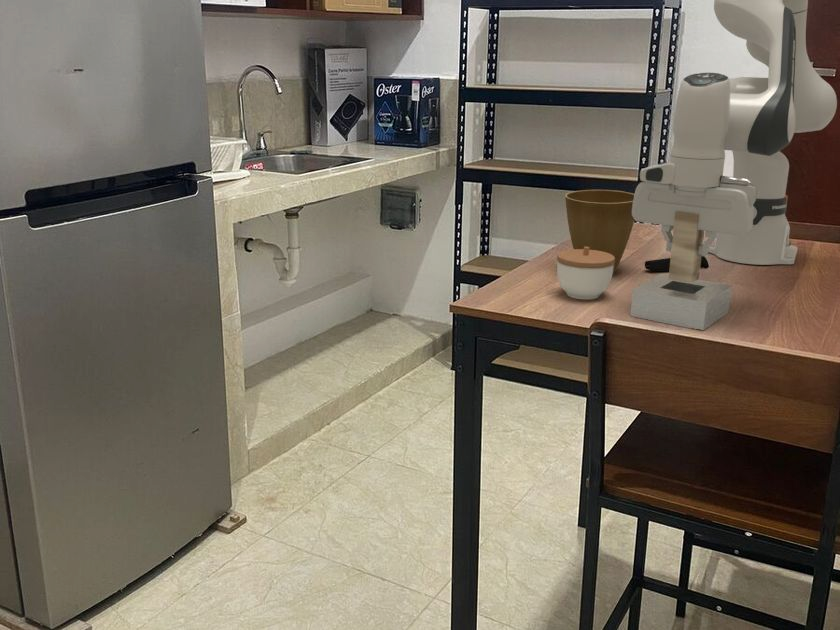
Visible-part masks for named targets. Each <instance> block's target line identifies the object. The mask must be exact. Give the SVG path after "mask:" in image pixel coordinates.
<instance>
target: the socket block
mask: <svg viewBox="0 0 840 630" xmlns="http://www.w3.org/2000/svg"><path fill="white" fill-rule="evenodd" d="M668 278H669V274H668V273H660V274H658V275H656V276H654V277H652V278H651V279H649V280H647V281H644V282H643V283H641V284H639V285H637V286H635V287H633V288H632V295H631V304H630V305H631V307H630V317H634V318H639V319H643V320H647V319H648V320H649V321H652V320H653V321H654V322H658V323H663V324H667V325H673V326H676V327H677V326H679V327H681V328H686V329H687V328H688V329H691V328H695V329H694V330H696V329H701V330H704V329H705V328H707V327H708V326H709V327H711V326H712V325H714V324H715V323H717V322H718V321H719V320H720V319H722V318H723V317H724V316H726V315H727V314H728V313H729V311H730V305H731V295H732V289H733V288H732V287H733V285H731V284H723V283H719V282H718V283H717V282H712V281H706V280H702V279H701V280H700V279H697V280H695V281H694V282H692V283H687V282H681V281H675V280H670V279H668ZM713 323H714V324H713ZM711 324H712V325H711ZM710 325H711V326H710ZM709 327H708V328H709ZM708 328H707V329H708ZM701 330H700V331H701ZM705 330H706V329H705ZM705 330H704V331H705Z"/></svg>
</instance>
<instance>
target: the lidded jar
mask: <svg viewBox="0 0 840 630" xmlns="http://www.w3.org/2000/svg"><path fill="white" fill-rule="evenodd" d="M556 262H557V263H556V273H557V274H556V275H557V281H558V283H559V286H560V287H561V288H562V290H563V291H564V292H565V293H566V296H568V297H570V298H572V299H575V300H576V299H577V300H587V301H588V300H597V299H598V298H600V295H602V294H603V293H604V292H605V291H606V290H607V289H608V287H609V286H610V284H611V281H612V278H613V274H614V273H613V268H614V263H615V257H614V256H613V255H611V254H609V253H606V252H603V251H597V250H589V247H584V249H573V248H572V249H566V250H561V251H560V252H558V253H557V255H556Z"/></svg>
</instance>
